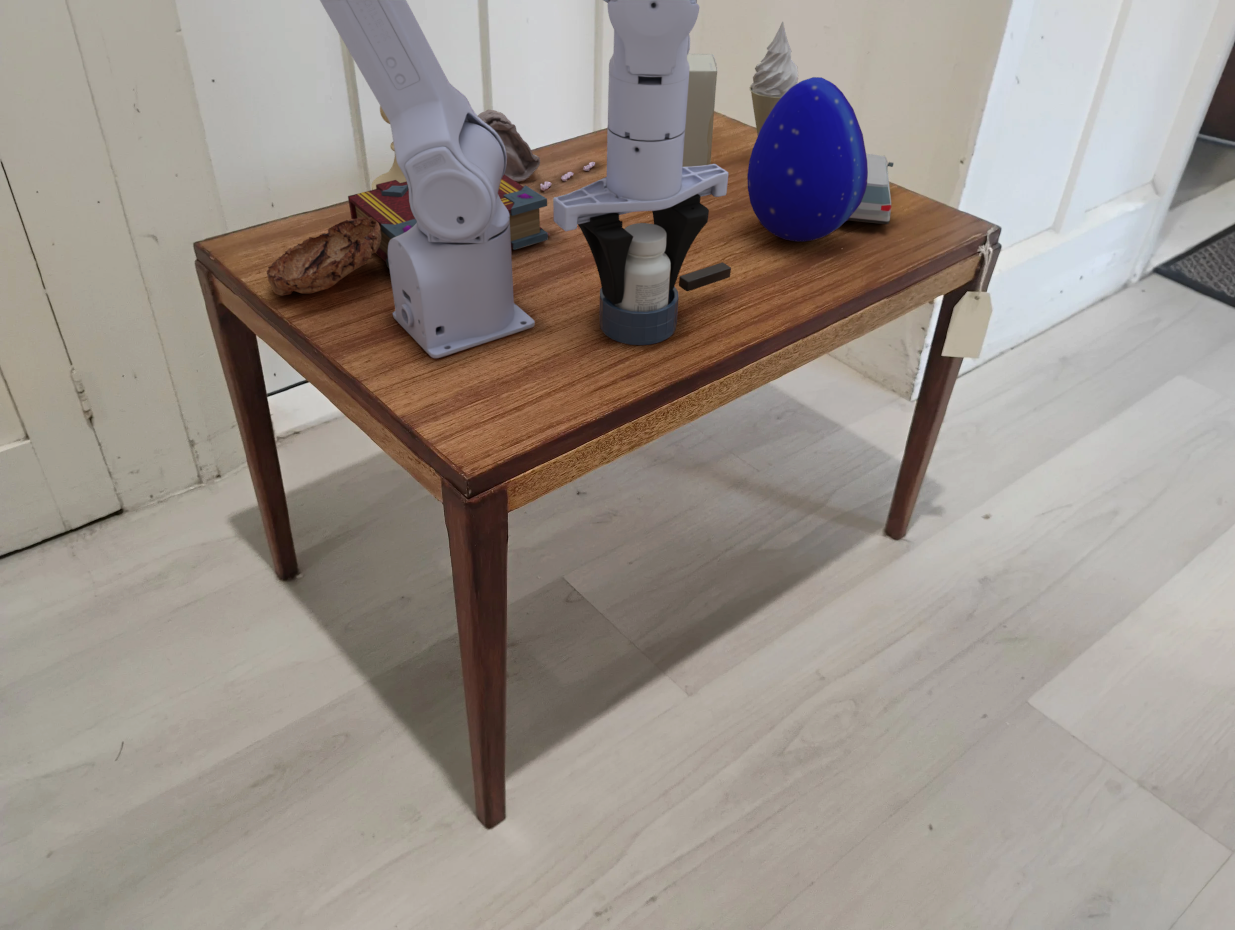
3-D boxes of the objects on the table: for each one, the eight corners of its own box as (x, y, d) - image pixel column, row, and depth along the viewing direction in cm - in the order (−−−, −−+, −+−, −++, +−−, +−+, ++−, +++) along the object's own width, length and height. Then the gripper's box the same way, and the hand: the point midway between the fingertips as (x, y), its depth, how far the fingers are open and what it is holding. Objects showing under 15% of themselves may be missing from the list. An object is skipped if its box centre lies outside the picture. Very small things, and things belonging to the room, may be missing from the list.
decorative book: (351, 238, 92) (343, 188, 89) (497, 198, 99) (494, 151, 96) (406, 287, 85) (399, 234, 82) (558, 240, 92) (557, 190, 89)
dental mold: (455, 127, 98) (445, 120, 102) (472, 194, 101) (461, 184, 105) (529, 108, 100) (516, 102, 104) (543, 174, 103) (530, 165, 107)
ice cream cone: (784, 172, 107) (804, 29, 97) (739, 168, 107) (754, 25, 98) (787, 155, 111) (807, 16, 101) (743, 151, 111) (759, 12, 102)
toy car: (884, 179, 105) (894, 135, 102) (889, 236, 96) (901, 189, 92) (830, 174, 106) (839, 130, 102) (831, 230, 96) (840, 183, 93)
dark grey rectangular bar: (686, 292, 82) (687, 281, 81) (678, 286, 82) (679, 275, 82) (730, 277, 84) (731, 267, 83) (721, 272, 85) (722, 261, 84)
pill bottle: (677, 315, 81) (683, 230, 76) (647, 337, 78) (651, 250, 73) (635, 298, 83) (638, 214, 78) (604, 319, 80) (605, 233, 75)
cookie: (373, 204, 87) (389, 234, 89) (266, 254, 87) (284, 283, 88) (376, 233, 79) (394, 265, 80) (258, 288, 78) (278, 319, 80)
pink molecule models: (506, 212, 97) (506, 207, 97) (492, 203, 98) (492, 198, 98) (601, 168, 107) (602, 163, 106) (588, 161, 107) (588, 156, 107)
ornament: (867, 240, 94) (900, 83, 84) (810, 270, 89) (838, 107, 79) (779, 203, 100) (800, 53, 90) (721, 229, 95) (736, 73, 85)
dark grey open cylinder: (628, 353, 78) (629, 321, 76) (584, 318, 82) (584, 286, 80) (691, 330, 81) (694, 299, 79) (646, 297, 85) (647, 267, 83)
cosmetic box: (709, 189, 103) (719, 71, 95) (667, 187, 103) (674, 70, 95) (705, 165, 108) (715, 52, 100) (666, 164, 108) (672, 51, 100)
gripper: (698, 95, 76) (686, 252, 85) (533, 124, 70) (538, 289, 79) (750, 125, 71) (732, 287, 80) (578, 158, 66) (578, 329, 74)
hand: (638, 291), depth 79 cm, fingers closed on pill bottle, 4 cm apart
